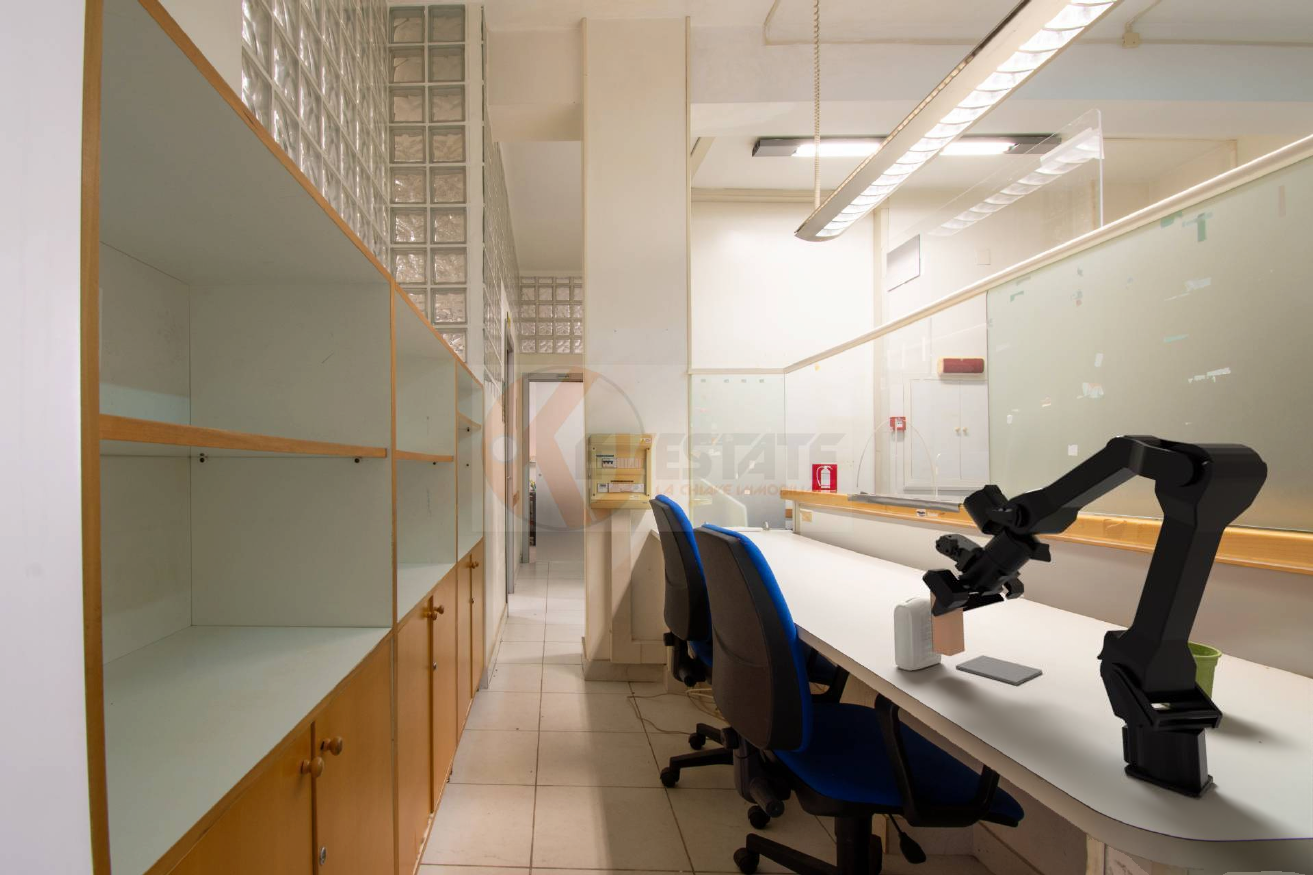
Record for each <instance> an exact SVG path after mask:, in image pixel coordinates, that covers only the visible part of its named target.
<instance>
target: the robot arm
mask: <svg viewBox="0 0 1313 875" xmlns="http://www.w3.org/2000/svg"><path fill="white" fill-rule="evenodd" d="M1268 471H1269V469H1268V465H1267V462H1265V461H1264V460H1263V459H1262V457H1261V456H1260V454H1259V453H1258V452H1256V450H1255V449H1253V448H1252V447H1250V446H1247V445H1245V444H1242V443H1233V442H1232V443H1231V442H1229V443H1228V442H1227V443H1226V442H1225V443H1223V442H1215V443H1214V442H1202V443H1201V442H1184V441H1177V440H1170V439H1166V438H1162V437H1157V436H1155V435H1151V434H1120V435H1118V436H1116V437H1112V438H1110V439H1109V440H1108V441H1107V442H1106V444H1105V446H1104V447H1103V448H1101V449H1099V450H1098V451H1097V452H1095V453H1094V454H1092V455H1090V456H1089V457H1088V458H1086V459H1085V460H1084V461H1082V462H1081V463H1079V464H1077V465H1076V466H1075V467H1074V468H1072V469H1071V470H1069V471H1068V472H1066V473H1064V474H1063V475H1062V476H1060V477H1059V478H1057V479H1056V480H1055V481H1053V482H1052V483H1050V484H1049V485H1046V486H1043V487H1040V488H1036V489H1031V490H1029V491H1028V490H1027V491H1025V492H1022V493H1019V494H1016V495H1015V496H1012V497H1011V498H1010V499H1007V498H1006V496H1005V494H1003V492H1002V490H1001V488H1000V487H999V486H998V484H985V485H984V486H983V487H982V489H979V490H976V491H974V492H972V493H971V494H969V495H968V496H966V497H965V498H964V500H963V508H964V510H965V511H966V513H967V514H968V515H969V516H970V518H971V519H972V521H973V522H974V523H975V525H976V526H977V528H978V530H979V531H980V532H981V534H984V535H988V536H993V537H992V538H991V539H990V540H989V541H988V542H987V543H986V544H985V545H984V546H983V547H982V546H981V545H980V544H978V543H977V542H975V541H973V540H971V539H970V538H968V537H967V536H965V535H963V534H961V533H948V534H943V535H940V536H939V538H938V539H936V540H935V543H934V544H935V550H936V551H937V552H938V553H939V554H941V555H943V556H945V557H947V558H949V559H950V560H952V561H954V562H955V565H954V567H955V569H956V571H957V572H960V573H961V574H958V575H957V576H956V575H954V573H953V571H952V570H951V569H948V568H934V569H928V570H927V571H926V572H925V573H924V574H923V575H922V579H921V580H922V581H923V583H924V584H925V585H926V586H927V588H928V589H929V591H930V590H931V592H932V593H933V594H934V596H935V597H936V599H935V602H934V605H933V608H932V610H931V612H932V614H933V615H934V616H935V617H937V616H940V615H944V614H947V613H950V612H953V611H956V610H959V609H962V608H963V613H965V612H968V611H973V610H976V609H979V608H983V607H988V606H991V605H995V604H999V603H1003V602H1005V599H1006V600H1008V601H1010V600H1016V599H1018V598H1019V597H1021V596H1022V595H1023V594H1024V593H1025V584H1024V583H1023V582H1022V581H1021V580H1020V579H1019V577H1020V575H1021V574H1022V573H1021V572H1020V569H1022V568H1023V567H1024V566H1025V565H1026V564H1027V563H1028V562H1030V560H1031V561H1038V562H1044V563H1051V562H1052V554H1051V552H1050V547H1051V546H1050V544H1049V543H1044V542H1042V541H1041V540H1040V539H1039V538H1038V535H1039V536H1040V535H1042V536H1043V535H1045V536H1047V535H1054V536H1055V535H1059V534H1062V533H1064V532H1065V531H1066V530H1067V529H1068V528H1069V527H1070V526H1071V525H1072V524H1074V523H1075V522H1076V520H1077V519H1078V515H1079V511H1081V510H1082V509H1083V508H1084V507H1086V506H1088V505H1090V504H1091V503H1093V502H1094V501H1096V500H1097V499H1099V498H1101V497H1103V496H1104V495H1106V494H1108V493H1109V492H1111V491H1113V490H1114V489H1116V488H1117V487H1119V486H1121V485H1122V484H1124V483H1127V482H1128V481H1129V480H1131V479H1133V478H1134V477H1136V476H1139V477H1143V478H1146V479H1149V480H1153V481H1154V494H1155V496H1156V499H1157V502H1158V505H1159V506H1160V509H1161V511H1162V513H1163V517H1162V518H1163V519H1162V522H1161V525H1160V530H1159V531H1158V536H1157V540H1156V542H1155V546H1154V549H1153V552H1152V556H1151V560H1150V563H1149V567H1148V569H1147V572H1146V573H1147V574H1146V577H1145V580H1144V584H1143V587H1142V589H1141V590H1142V591H1141V593H1140V597H1139V601H1138V604H1137V607H1136V611H1135V614H1134V618H1133V621H1132V623H1131V625H1130V626H1129V627H1128V628H1127V629H1117V630H1116V629H1113V630H1110V629H1109V630H1107V631H1106V632H1105V634H1104V636H1103V643H1102V648H1101V651H1100V652H1099V654H1098V655H1097V656H1096V659H1097V660H1098V661H1100V664H1099V675H1100V677H1101V680H1102V682H1103V685H1104V686H1103V687H1104V689H1105V691H1106V695H1107V699H1108V700H1109V703H1110V707H1111V709H1112V712H1113V715H1114V716H1115V717H1117V718H1118V719H1121V720H1123V721H1124V725H1123V726H1122V727H1121V734H1122V736H1121V737H1122V752H1123V753H1122V754H1123V761H1124V762H1125V764H1127V765H1126V766H1124V767H1123V769H1124V770H1123V771H1124V773H1125V774H1127V775H1129V776H1133V777H1135V778H1137V779H1138V778H1139V779H1140V780H1144V781H1146V782H1149V783H1153V784H1154V785H1158V786H1161V787H1164V788H1166V789H1170V790H1172V791H1173V790H1174V791H1175V792H1178V793H1181V794H1184V795H1187V796H1190V797H1194V798H1198V799H1200V798H1201V797H1202V796H1203V795H1204V794H1205V792H1206V791H1207V790H1208V788H1209V787H1210V786H1211V785H1212V784H1213V783H1214V777H1213V775H1212V774H1209V771H1208V770H1209V769H1208V757H1207V742H1206V741H1207V740H1206V729H1212V730H1215V729H1216V730H1217V729H1218V728H1219V726H1220V724H1221V721H1222V719H1223V712H1222V711H1221V709H1220V708H1219V707H1218V706H1217V704H1216V703H1215V702H1214V701H1213V700H1212V699H1210V698H1209V696H1208V695H1207V694H1206V693H1205V692H1204V690H1203V689H1202V688H1201V687H1200V686H1199V684H1198V683H1197V682H1196V681H1195V680H1196V671H1197V664H1196V661H1195V659H1194V657H1193V654H1192V652H1191V650H1190V647H1189V645H1188V642H1189V639H1190V635H1191V633H1192V629H1193V626H1194V623H1195V620H1196V617H1197V615H1198V614H1197V613H1198V610H1199V607H1200V604H1201V602H1202V599H1203V595H1204V593H1205V590H1206V587H1207V583H1208V580H1209V577H1210V575H1211V572H1212V568H1213V566H1214V561H1215V559H1216V557H1217V553H1218V549H1219V547H1220V544H1221V540H1222V536H1223V534H1224V532H1225V530H1226V528H1227V527H1228V526H1229V525H1231V523H1232V522H1234V521H1235V520H1237V518H1238V517H1240V516H1241V515H1242V514H1243V513H1244V512H1245V511H1247V510H1248V509H1249V508H1250V507H1251V506H1252V505H1253V503H1254V501H1255V499H1256V497H1257V496H1258V495H1259V492H1260V491H1261V489H1262V488H1263V486H1264V484H1265V482H1266V480H1267V478H1268ZM1003 586H1004V587H1003ZM1004 588H1005V589H1006V591H1007V592H1006V593H1005V594H1004V596H1002V594H1001V593H1002V592H1003V591H1004V590H1005V589H1004ZM1004 597H1005V598H1004ZM1162 703H1169V705H1170V706H1165V707H1164V706H1163V707H1154V705H1159V704H1160V705H1161V704H1162ZM1162 705H1163V704H1162Z"/></svg>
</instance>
